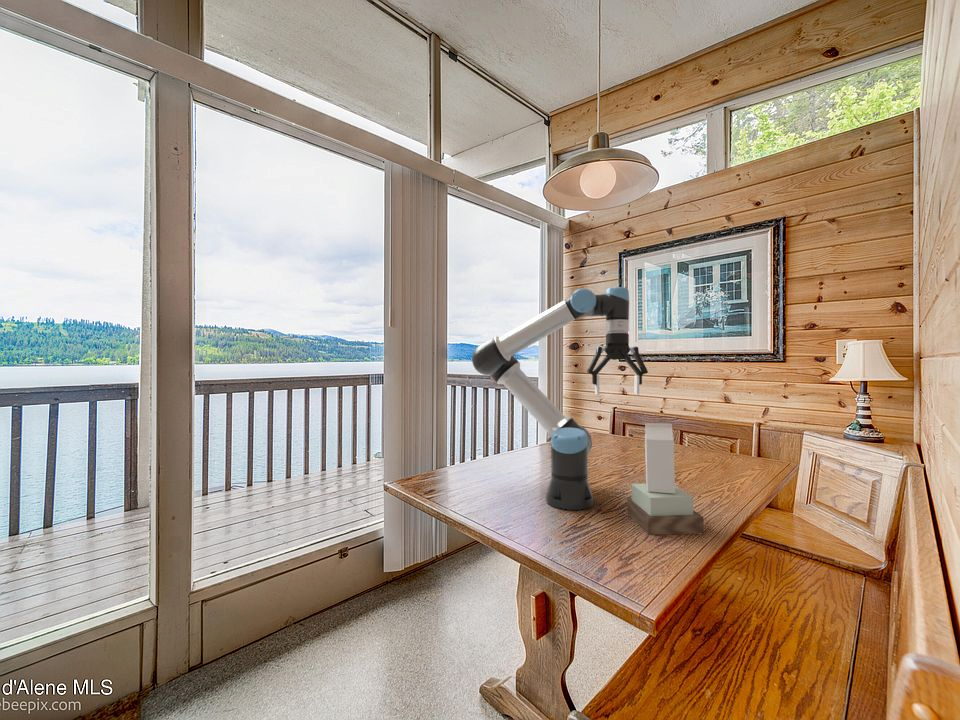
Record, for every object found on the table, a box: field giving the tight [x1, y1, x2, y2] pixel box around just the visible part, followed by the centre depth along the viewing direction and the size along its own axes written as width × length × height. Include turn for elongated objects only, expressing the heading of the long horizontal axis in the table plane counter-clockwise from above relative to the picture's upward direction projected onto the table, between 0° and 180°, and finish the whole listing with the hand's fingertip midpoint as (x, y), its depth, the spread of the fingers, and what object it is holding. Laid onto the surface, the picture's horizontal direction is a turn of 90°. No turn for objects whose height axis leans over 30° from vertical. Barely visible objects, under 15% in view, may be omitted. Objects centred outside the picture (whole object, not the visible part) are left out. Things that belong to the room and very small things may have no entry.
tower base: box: [626, 497, 704, 535], centre depth 118 cm, size 15×15×5 cm
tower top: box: [631, 483, 694, 516], centre depth 118 cm, size 12×12×5 cm
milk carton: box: [644, 422, 676, 494], centre depth 118 cm, size 7×7×19 cm
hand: (616, 394), depth 142 cm, fingers open, 13 cm apart
